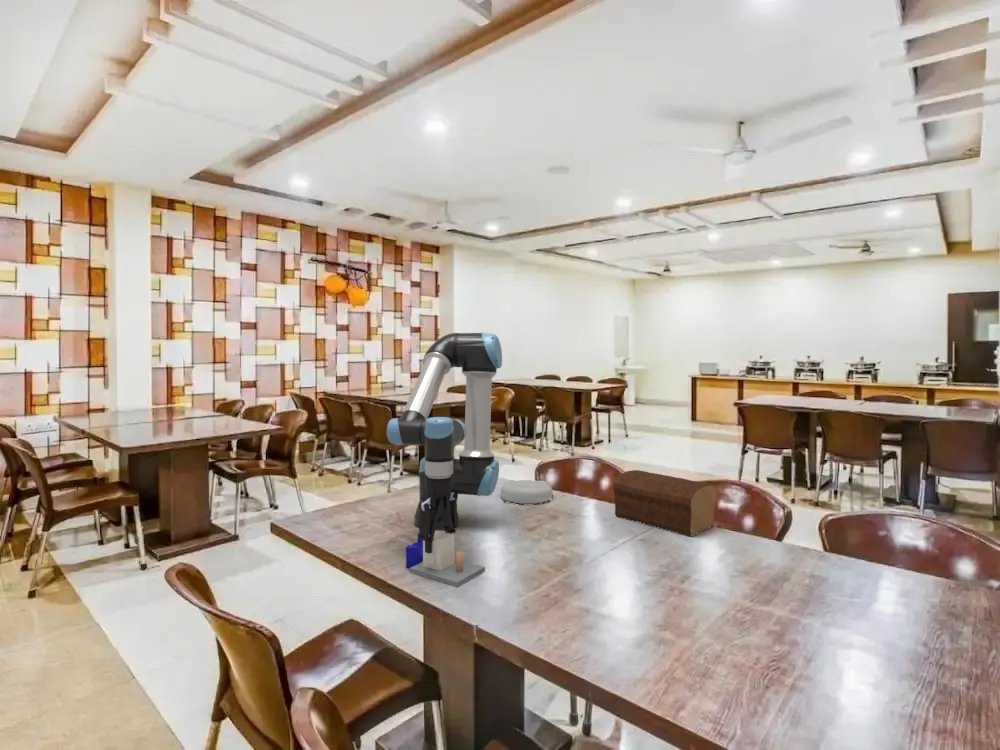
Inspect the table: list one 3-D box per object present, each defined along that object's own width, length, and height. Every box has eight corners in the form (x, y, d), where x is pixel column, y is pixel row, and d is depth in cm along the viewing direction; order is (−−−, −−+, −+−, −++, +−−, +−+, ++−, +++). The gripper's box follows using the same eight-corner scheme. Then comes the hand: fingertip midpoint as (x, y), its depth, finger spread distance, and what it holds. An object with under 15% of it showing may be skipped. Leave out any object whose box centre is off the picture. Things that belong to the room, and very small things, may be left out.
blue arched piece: (414, 552, 165) (414, 532, 164) (429, 553, 164) (429, 533, 164) (400, 568, 153) (400, 546, 153) (416, 569, 152) (416, 547, 152)
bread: (689, 539, 178) (690, 488, 177) (611, 517, 200) (612, 472, 199) (716, 526, 190) (717, 479, 189) (640, 507, 212) (641, 465, 211)
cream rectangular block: (437, 558, 156) (437, 530, 156) (454, 563, 153) (454, 534, 153) (423, 565, 151) (422, 536, 151) (440, 570, 148) (440, 541, 148)
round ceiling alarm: (489, 505, 214) (489, 489, 214) (500, 489, 239) (500, 474, 238) (555, 509, 210) (555, 493, 209) (559, 492, 234) (560, 477, 234)
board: (438, 558, 160) (438, 536, 160) (484, 571, 151) (485, 548, 151) (409, 572, 150) (409, 549, 150) (457, 587, 141) (457, 562, 141)
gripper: (450, 467, 161) (450, 546, 162) (403, 480, 145) (404, 568, 146) (471, 470, 157) (471, 552, 158) (426, 484, 141) (426, 575, 142)
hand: (438, 559), depth 152 cm, fingers closed on cream rectangular block, 6 cm apart
